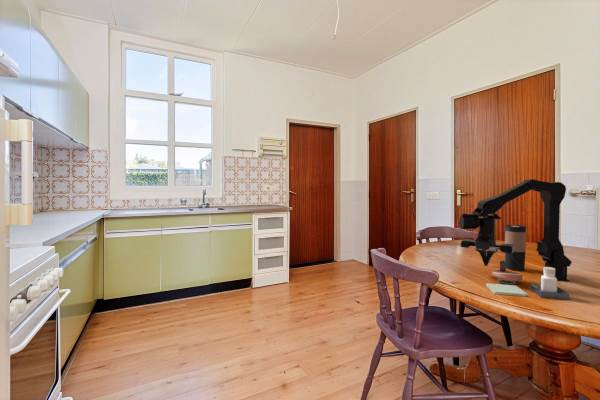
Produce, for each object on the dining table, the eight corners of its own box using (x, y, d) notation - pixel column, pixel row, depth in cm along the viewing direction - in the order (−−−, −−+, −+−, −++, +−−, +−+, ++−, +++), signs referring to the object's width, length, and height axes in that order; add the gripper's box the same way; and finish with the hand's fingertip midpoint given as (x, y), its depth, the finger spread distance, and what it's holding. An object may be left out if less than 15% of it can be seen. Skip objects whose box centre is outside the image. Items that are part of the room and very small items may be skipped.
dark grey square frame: (555, 291, 105) (555, 285, 105) (569, 299, 98) (569, 293, 98) (529, 289, 108) (529, 284, 108) (541, 297, 100) (541, 291, 100)
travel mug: (519, 272, 129) (520, 227, 128) (501, 267, 135) (501, 225, 134) (528, 269, 132) (529, 226, 131) (510, 265, 139) (511, 224, 138)
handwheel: (515, 274, 119) (516, 261, 119) (527, 281, 109) (527, 268, 109) (488, 272, 122) (488, 260, 122) (497, 279, 112) (497, 266, 112)
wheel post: (512, 280, 118) (512, 275, 118) (518, 285, 112) (518, 280, 112) (495, 279, 119) (495, 274, 119) (500, 284, 114) (500, 279, 114)
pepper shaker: (542, 295, 102) (542, 268, 102) (540, 291, 106) (541, 265, 105) (557, 297, 100) (557, 270, 99) (555, 293, 103) (555, 267, 103)
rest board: (516, 287, 110) (516, 285, 110) (527, 296, 101) (527, 294, 101) (486, 285, 113) (486, 283, 112) (494, 293, 104) (494, 291, 104)
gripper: (456, 229, 124) (456, 265, 125) (509, 234, 111) (508, 274, 111) (464, 226, 132) (464, 260, 133) (515, 230, 118) (514, 268, 119)
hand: (486, 265), depth 124 cm, fingers closed
